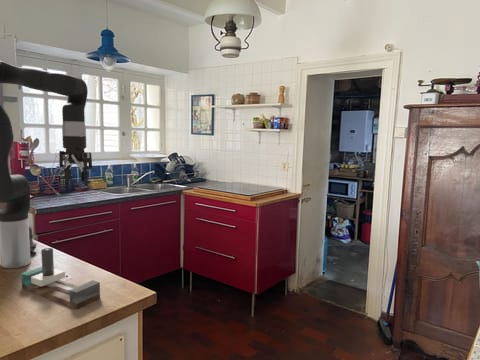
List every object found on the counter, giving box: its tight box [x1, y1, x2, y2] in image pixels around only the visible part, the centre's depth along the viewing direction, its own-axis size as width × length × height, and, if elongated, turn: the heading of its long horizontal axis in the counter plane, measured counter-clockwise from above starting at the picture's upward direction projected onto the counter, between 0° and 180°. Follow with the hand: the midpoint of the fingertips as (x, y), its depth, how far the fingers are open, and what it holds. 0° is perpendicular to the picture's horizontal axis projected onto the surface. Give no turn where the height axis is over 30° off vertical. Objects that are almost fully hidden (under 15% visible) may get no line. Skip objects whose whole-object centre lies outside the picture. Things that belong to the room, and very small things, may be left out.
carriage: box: [31, 247, 66, 287], centre depth 113 cm, size 5×8×10 cm, turn 152°
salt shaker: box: [29, 226, 37, 257], centre depth 145 cm, size 6×6×12 cm
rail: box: [20, 266, 101, 310], centre depth 112 cm, size 26×8×5 cm, turn 62°
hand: (76, 180), depth 129 cm, fingers open, 8 cm apart
